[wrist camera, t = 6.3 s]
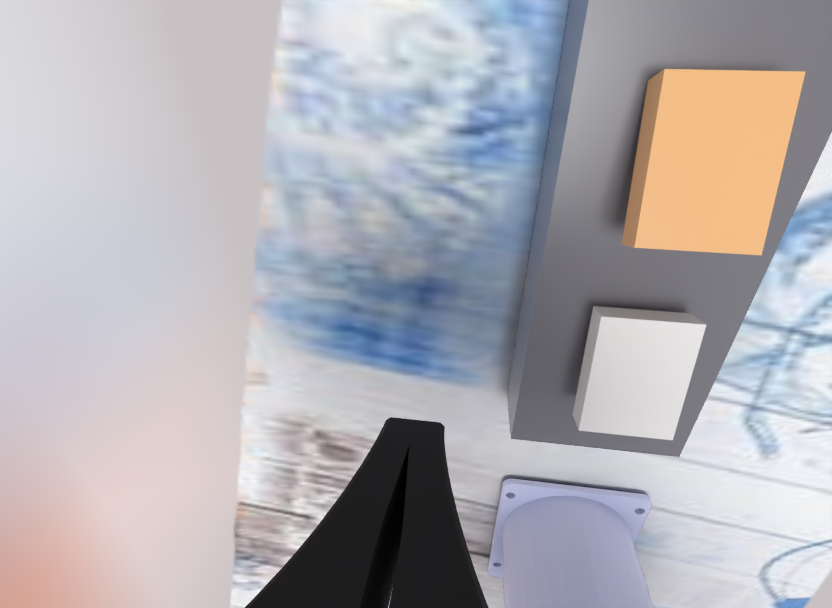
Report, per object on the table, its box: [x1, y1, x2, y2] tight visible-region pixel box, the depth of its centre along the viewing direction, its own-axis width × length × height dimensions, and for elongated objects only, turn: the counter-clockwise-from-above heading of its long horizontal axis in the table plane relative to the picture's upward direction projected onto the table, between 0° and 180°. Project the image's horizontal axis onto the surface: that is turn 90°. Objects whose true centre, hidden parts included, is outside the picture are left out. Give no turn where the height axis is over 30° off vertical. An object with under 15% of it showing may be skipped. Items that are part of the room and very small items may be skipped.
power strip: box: [507, 0, 832, 457], centre depth 13 cm, size 26×7×3 cm, turn 179°
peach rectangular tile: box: [622, 69, 805, 255], centre depth 11 cm, size 4×3×1 cm
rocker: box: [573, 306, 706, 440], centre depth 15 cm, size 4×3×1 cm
